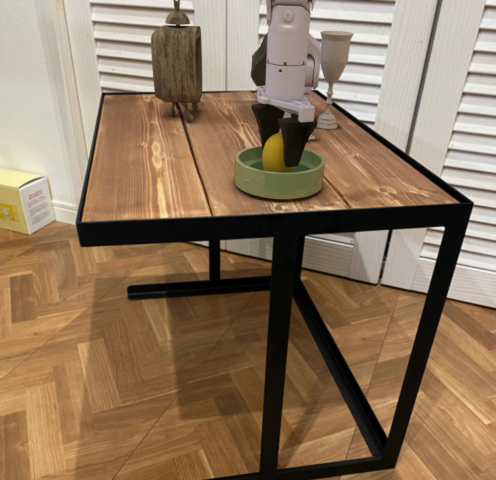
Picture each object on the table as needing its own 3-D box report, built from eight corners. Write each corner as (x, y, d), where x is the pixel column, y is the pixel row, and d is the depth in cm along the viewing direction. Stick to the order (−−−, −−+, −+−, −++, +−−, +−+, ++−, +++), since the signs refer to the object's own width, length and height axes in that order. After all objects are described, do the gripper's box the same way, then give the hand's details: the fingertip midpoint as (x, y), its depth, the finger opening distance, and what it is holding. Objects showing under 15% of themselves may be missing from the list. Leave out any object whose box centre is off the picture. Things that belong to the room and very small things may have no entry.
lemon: (274, 174, 86) (277, 124, 81) (301, 182, 83) (306, 131, 78) (254, 182, 82) (256, 131, 78) (281, 191, 80) (285, 138, 75)
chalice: (340, 131, 110) (353, 36, 99) (309, 128, 111) (318, 34, 100) (342, 122, 116) (354, 31, 105) (312, 120, 117) (321, 30, 106)
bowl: (221, 176, 86) (221, 149, 83) (295, 167, 91) (297, 141, 88) (257, 208, 75) (259, 178, 73) (338, 195, 80) (342, 167, 78)
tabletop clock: (197, 125, 111) (192, -13, 96) (155, 123, 111) (145, -15, 96) (203, 109, 123) (200, -17, 108) (165, 107, 123) (157, -18, 108)
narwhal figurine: (301, 103, 130) (308, 21, 119) (315, 119, 118) (325, 29, 107) (245, 103, 128) (247, 20, 117) (255, 119, 116) (258, 28, 105)
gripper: (240, 55, 76) (238, 147, 84) (285, 73, 66) (278, 176, 74) (281, 53, 79) (276, 143, 87) (331, 70, 68) (320, 171, 76)
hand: (280, 158), depth 80 cm, fingers open, 7 cm apart
